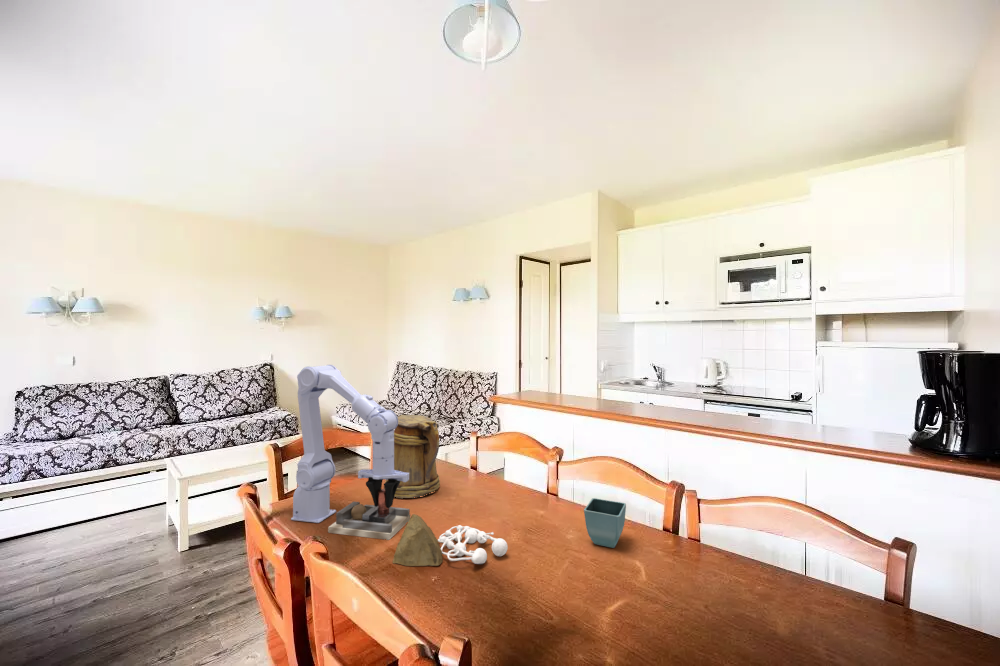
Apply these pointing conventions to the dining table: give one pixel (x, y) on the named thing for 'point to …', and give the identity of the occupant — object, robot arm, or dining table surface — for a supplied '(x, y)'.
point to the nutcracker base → (368, 524)
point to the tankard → (416, 455)
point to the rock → (418, 545)
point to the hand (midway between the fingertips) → (383, 505)
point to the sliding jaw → (380, 511)
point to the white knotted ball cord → (470, 537)
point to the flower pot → (605, 521)
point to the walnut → (358, 511)
